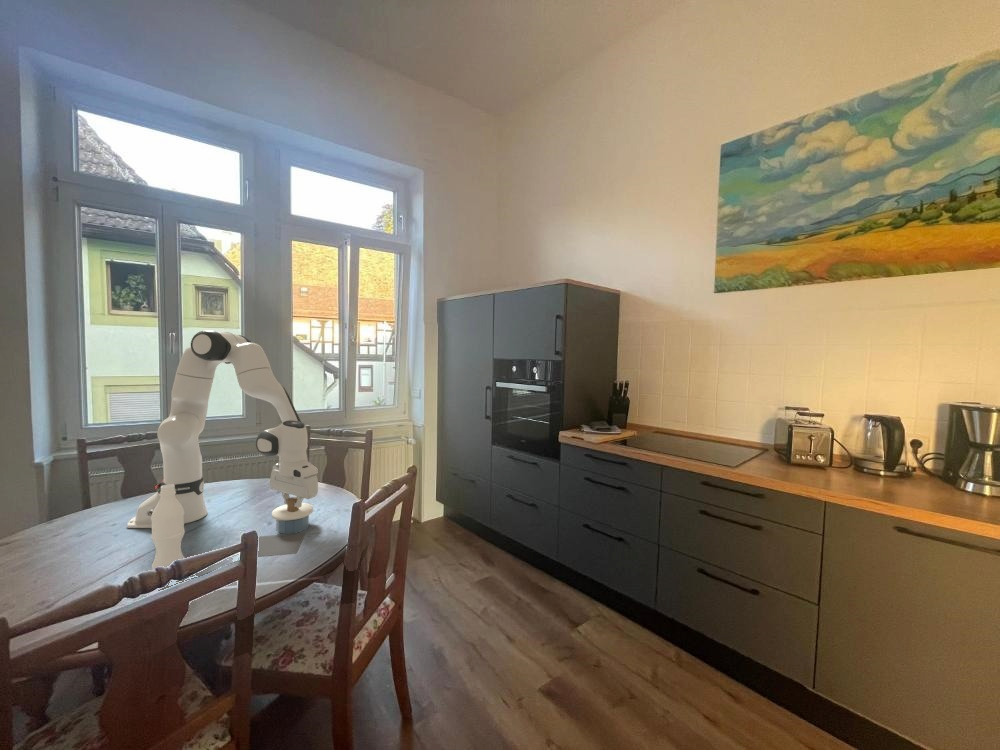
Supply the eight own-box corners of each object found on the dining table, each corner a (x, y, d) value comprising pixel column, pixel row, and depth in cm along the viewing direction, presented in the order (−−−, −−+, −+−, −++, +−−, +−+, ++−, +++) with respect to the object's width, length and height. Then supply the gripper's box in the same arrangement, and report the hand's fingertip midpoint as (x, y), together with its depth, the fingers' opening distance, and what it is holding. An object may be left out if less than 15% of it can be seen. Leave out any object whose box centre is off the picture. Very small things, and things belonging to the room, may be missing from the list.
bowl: (273, 536, 136) (273, 522, 136) (280, 523, 146) (280, 510, 145) (305, 533, 139) (305, 519, 138) (310, 521, 148) (310, 508, 148)
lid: (267, 521, 134) (267, 507, 133) (277, 506, 146) (277, 493, 146) (309, 518, 137) (309, 504, 137) (315, 504, 150) (316, 491, 149)
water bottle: (183, 563, 118) (182, 479, 116) (186, 573, 113) (185, 486, 111) (150, 571, 113) (149, 485, 111) (152, 583, 108) (151, 492, 106)
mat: (245, 559, 121) (245, 557, 121) (259, 538, 134) (259, 536, 134) (296, 555, 125) (296, 553, 125) (305, 534, 138) (305, 532, 138)
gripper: (265, 464, 142) (264, 502, 143) (306, 474, 134) (305, 514, 135) (281, 460, 148) (280, 497, 149) (321, 469, 139) (320, 508, 140)
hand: (292, 505), depth 142 cm, fingers open, 4 cm apart
